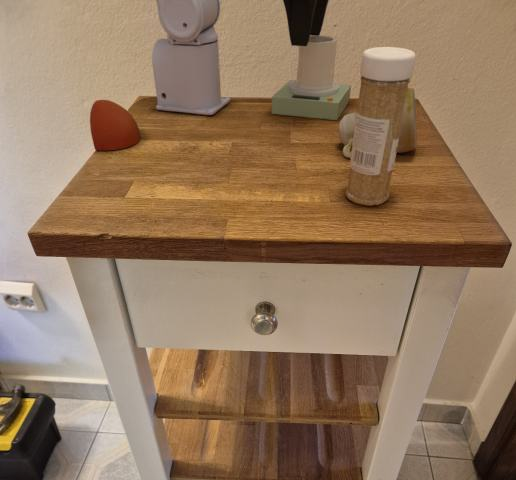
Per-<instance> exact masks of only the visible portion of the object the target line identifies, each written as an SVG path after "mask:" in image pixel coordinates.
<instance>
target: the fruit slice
mask: <svg viewBox="0 0 516 480" xmlns="http://www.w3.org/2000/svg"><path fill="white" fill-rule="evenodd" d="M89 127H90V134H91V139H92V143H93V147H94V150H95V151H104V152H106V151H115V150H116V151H117V150H123V149H127V148H129V147H132V146H135V145H137V144H138V143H139V142H140V140H141V132H140V127H139V125H138V122H137V121H136V119H135V118H134V116H133V115H132V114H131V113H130V111H128V110H127V108H124V107H123V106H122V105H120V104H118V103H117V102H114V101H111V100H108V99H97V100H95V101H94V102H93V104H92V106H91V109H90V113H89Z"/></svg>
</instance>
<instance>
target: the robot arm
mask: <svg viewBox="0 0 516 480" xmlns="http://www.w3.org/2000/svg"><path fill="white" fill-rule="evenodd" d="M155 1H156V5H157V14H158V19H159V22H160V26H161V27H162V29H163V30H164V32H165V33H166V34H167V35H166V37H167V38H159V39H158V40H156V42H155V43H154V45H153V48H152V55H151V62H152V64H151V65H152V72H153V80H154V86H155V93H156V101H157V105H155V109H156V110H157V111H165V112H166V111H167V112H176V113H184V114H185V113H186V114H196V115H205V116H213V115H214V114H216V113H217V112H218V111H220V110H221V109H222V108H224V107H225V106H226V105H227V104H229V103H230V102H231V98H230V97H226V96H222V89H221V88H222V87H221V73H220V72H221V71H220V70H221V69H220V54H219V53H220V51H219V40H218V39H219V35H218V33H217V31H216V29H215V25H216V23H217V22H218V20H219V18H220V14H221V1H220V0H155ZM329 1H330V0H282V2H283V5H284V10H285V14H286V20H287V27H288V35H289V40H290V44H291V47H292V46H293V47H298V46H307V45H308V41H309V38H310V36H312V35H314V36H319V35H320V36H321V32H322V28H323V25H324V21H325V16H326V12H327V7H328V4H329Z"/></svg>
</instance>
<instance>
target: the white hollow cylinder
mask: <svg viewBox="0 0 516 480" xmlns="http://www.w3.org/2000/svg"><path fill="white" fill-rule="evenodd" d="M337 43H338V39H337V37H334V36H331V35H330V36H329V35H321V34H320V35H319V36H314V35H310V38H309V41H308V45H307V46H297V63H296V64H297V65H296V81H297V86H298V87H300V88H303V89H308V90H324V89H328V88H331V87H332V85H333V82H334V75H335V65H336V53H337Z"/></svg>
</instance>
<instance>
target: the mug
mask: <svg viewBox="0 0 516 480" xmlns="http://www.w3.org/2000/svg"><path fill="white" fill-rule="evenodd" d="M415 95H416V93H415V88H414V87H408V88H407V93H406V99H405V105H404V110H403V115H402V120H401V129H400V134H399V141H398V146H397V152H396V154H397V153H399V154H401V153H402V154H403V153H407V152H410V151H414V150H416V149H417V148H418V123H417V121H418V119H417V105H416V96H415ZM356 112H357V111H356ZM356 112H351V113H347V114H345V115H344V116H343V117H342V118H341V119H340V121H339V124H338V136H339V139H340V141H341V143H342V145H344V146H343V148H342V155H343V156H344V157H345V158H347V159H350V160H351V152H352V151H351V150H352V144H353V136H354V128H355V120H356Z"/></svg>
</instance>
